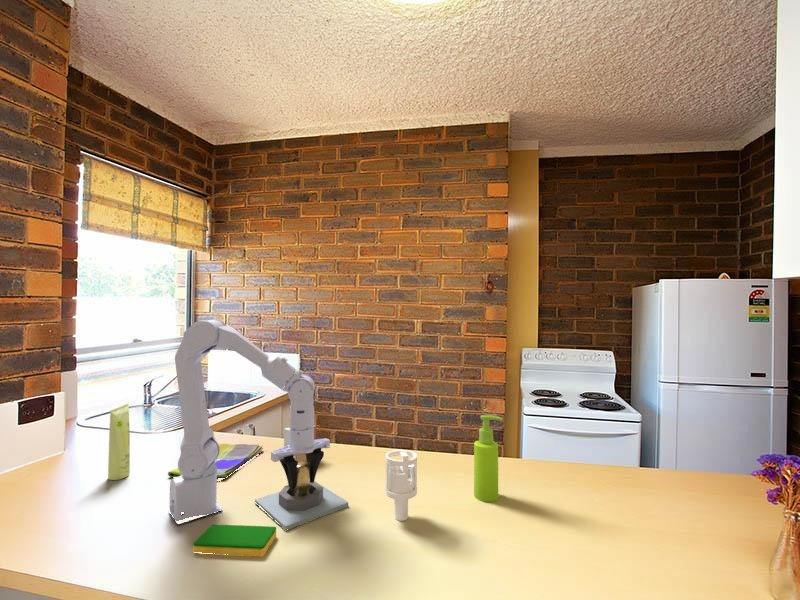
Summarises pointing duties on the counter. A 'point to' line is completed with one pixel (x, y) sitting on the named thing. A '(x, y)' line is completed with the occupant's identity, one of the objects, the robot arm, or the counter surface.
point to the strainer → (401, 481)
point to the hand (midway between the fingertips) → (301, 484)
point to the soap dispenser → (486, 462)
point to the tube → (119, 443)
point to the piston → (302, 480)
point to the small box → (286, 442)
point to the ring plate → (301, 515)
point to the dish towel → (229, 458)
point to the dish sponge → (236, 540)
